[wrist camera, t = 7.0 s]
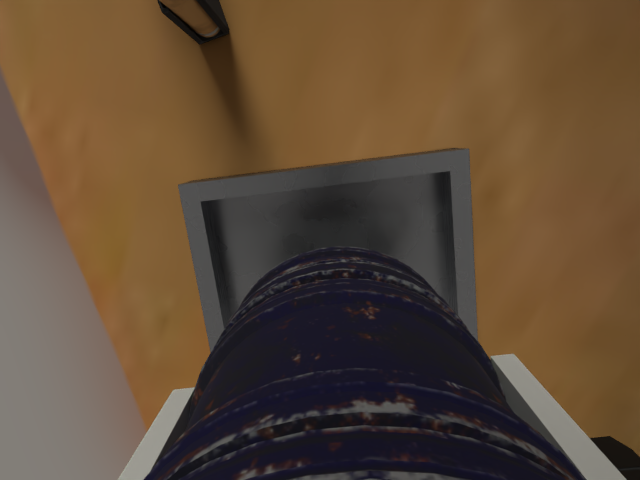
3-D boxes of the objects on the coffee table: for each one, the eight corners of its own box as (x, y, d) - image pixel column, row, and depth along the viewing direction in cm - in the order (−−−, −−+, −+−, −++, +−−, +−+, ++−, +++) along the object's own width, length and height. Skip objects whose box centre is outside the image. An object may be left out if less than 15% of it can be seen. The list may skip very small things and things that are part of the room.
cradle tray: (192, 180, 25) (177, 184, 22) (454, 148, 24) (469, 148, 22) (235, 410, 28) (227, 435, 26) (467, 386, 27) (480, 410, 25)
